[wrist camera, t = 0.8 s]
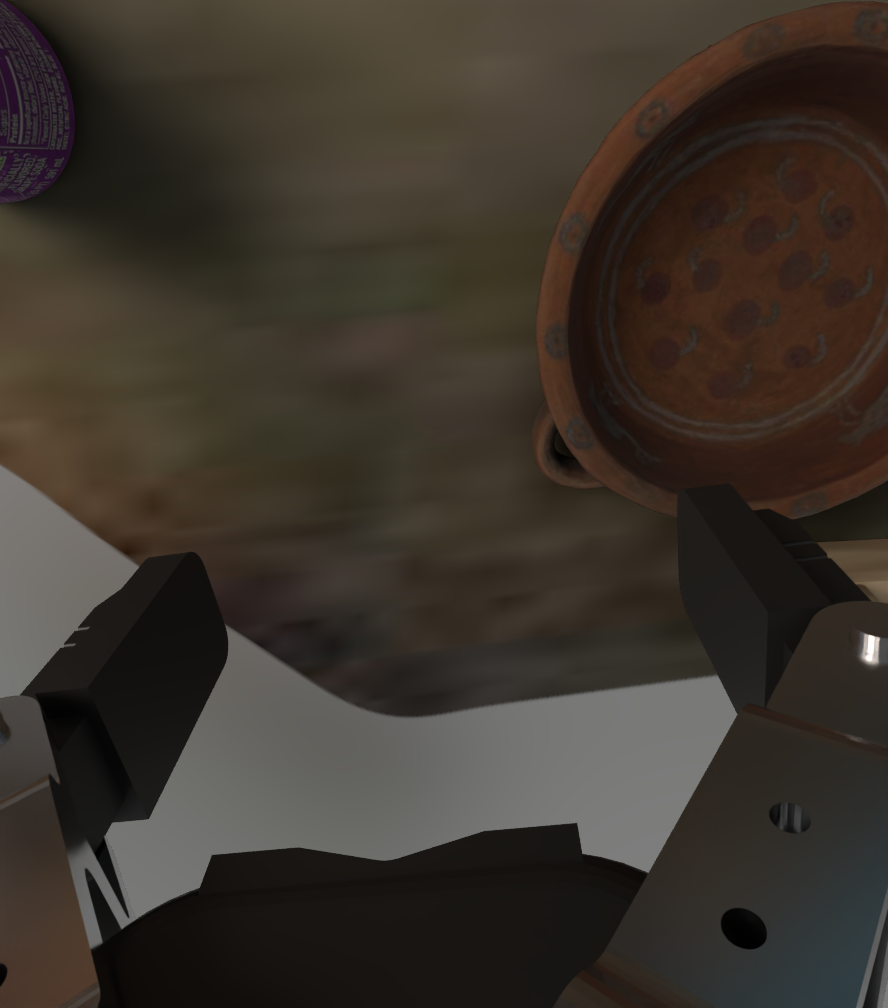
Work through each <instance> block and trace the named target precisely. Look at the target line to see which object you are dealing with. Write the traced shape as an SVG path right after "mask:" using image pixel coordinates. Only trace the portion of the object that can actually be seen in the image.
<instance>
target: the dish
mask: <svg viewBox="0 0 888 1008" xmlns="http://www.w3.org/2000/svg"><path fill="white" fill-rule="evenodd" d="M536 344H537V354H538V366H539V374H540V382H541V385H542V391H543V394H544V397H545V401H544V402H543V404H542V405H541V407H540V408H539V410H538V412H537V414H536V417H535V420H534V422H533V427H532V433H531V441H532V447H533V452H534V456H535V460H536V463H537V465H538V467H539V469H540V471H541V473H543V474H544V475H545V476H546V477H547V478H548V479H550V480H552V481H554V482H556V483H558V484H560V485H562V486H566V487H572V488H579V489H590V488H597V487H604V486H605V487H607V488H608V489H610V490H612V491H614V492H615V493H617V494H619V495H621V496H623V497H625V498H627V499H629V500H631V501H633V502H635V503H637V504H638V505H640V506H642V507H645V508H648V509H651V510H653V511H656V512H658V513H661V514H665V515H668V516H672V517H675V518H677V498H678V493H679V491H680V490H681V489H686V488H694V487H702V486H709V485H717V484H725V483H729V484H731V485H732V486H733V487H734V489H735V490H736V491H737V492H738V493H739V494H740V496H741V497H742V498H743V499H744V500H745V502H746V503H747V504H748V505H749V506H750V507H751V509H752V510H761V509H771V510H773V511H775V512H777V513H779V514H781V515H783V516H786V517H788V518H790V519H796V518H801V517H805V516H809V515H813V514H816V513H819V512H821V511H824V510H827V509H829V508H832V507H834V506H836V505H839V504H841V503H844V502H846V501H849V500H851V499H854V498H856V497H858V496H860V495H862V494H864V493H866V492H868V491H870V490H872V489H873V488H875V487H877V486H879V485H881V484H883V483H885V482H886V481H888V4H886V3H880V2H873V1H872V2H837V3H830V4H824V5H818V6H814V7H810V8H806V9H803V10H799V11H795V12H791V13H787V14H783V15H780V16H776V17H772V18H769V19H766V20H764V21H760V22H757V23H754V24H751V25H748V26H746V27H744V28H742V29H740V30H738V31H736V32H735V33H733V34H731V35H730V36H728V37H726V38H725V39H723V40H721V41H719V42H718V43H716V44H714V45H710V46H709V47H708V48H707V49H705V50H704V51H702V52H700V53H698V54H696V55H694V56H692V57H691V58H690V59H688V60H687V61H685V62H684V63H683V64H681V65H680V66H678V67H677V68H676V69H674V70H673V71H672V72H670V73H669V74H668V75H666V76H665V77H663V78H662V79H661V80H660V81H659V82H657V83H656V84H655V85H654V86H653V87H652V88H650V89H649V90H648V91H647V92H646V93H645V94H644V95H643V96H642V97H641V98H640V99H639V100H638V101H637V102H636V103H635V104H634V105H633V106H632V107H631V108H630V109H629V110H628V111H627V112H626V114H625V115H624V116H623V117H622V118H621V119H620V120H619V121H618V122H617V124H616V125H615V126H614V127H613V128H612V130H611V131H610V132H609V133H608V135H607V136H606V137H605V139H604V141H603V142H602V144H601V146H600V147H599V149H598V151H597V152H596V153H595V155H594V156H593V158H592V159H591V160H590V162H589V163H588V165H587V166H586V168H585V169H584V171H583V172H582V174H581V175H580V177H579V179H578V181H577V183H576V185H575V187H574V189H573V191H572V193H571V195H570V197H569V199H568V201H567V203H566V205H565V207H564V210H563V212H562V214H561V216H560V218H559V221H558V223H557V226H556V229H555V232H554V235H553V237H552V239H551V242H550V244H549V247H548V251H547V256H546V261H545V265H544V268H543V272H542V277H541V284H540V290H539V298H538V306H537V341H536ZM557 431H559V433H560V435H561V437H562V438H563V440H564V442H565V444H566V446H567V447H568V449H569V450H570V452H571V453H572V454H573V455H574V457H575V458H572V457H568V456H564V455H562V454H560V453H558V452H557V451H556V450H555V447H554V441H555V436H556V433H557Z"/></svg>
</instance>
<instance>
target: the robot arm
mask: <svg viewBox="0 0 888 1008" xmlns="http://www.w3.org/2000/svg"><path fill="white" fill-rule="evenodd" d="M677 522H678V564H679V583H680V590H681V595H682V599H683V603H684V607H685V609H686V612H687V614H688V616H689V618H690V620H691V622H692V624H693V626H694V628H695V630H696V632H697V634H698V636H699V638H700V640H701V642H702V644H703V646H704V648H705V650H706V652H707V654H708V656H709V658H710V660H711V662H712V664H713V666H714V668H715V670H716V672H717V674H718V676H719V678H720V680H721V682H722V684H723V686H724V688H725V690H726V692H727V694H728V696H729V698H730V700H731V702H732V704H733V706H734V708H735V710H736V712H737V714H738V715H737V717H736V718H735V720H734V722H733V724H732V725H731V727H730V729H729V731H728V733H727V734H726V736H725V738H724V740H723V742H722V743H721V745H720V747H719V749H718V751H717V752H716V754H715V756H714V758H713V760H712V761H711V763H710V765H709V767H708V768H707V770H706V772H705V774H704V776H703V777H702V779H701V781H700V782H699V784H698V786H697V788H696V790H695V791H694V793H693V795H692V797H691V799H690V800H689V802H688V804H687V806H686V807H685V809H684V811H683V813H682V814H681V816H680V818H679V820H678V822H677V823H676V825H675V827H674V829H673V831H672V832H671V834H670V836H669V838H668V839H667V841H666V843H665V845H664V846H663V848H662V850H661V852H660V854H659V855H658V857H657V859H656V861H655V863H654V864H653V866H652V868H651V870H650V872H649V873H647V872H645V871H642V870H640V869H637V868H635V867H632V866H629V865H626V864H624V863H621V862H617V861H613V860H610V859H606V858H602V857H597V856H591V855H586V854H582V850H581V844H580V838H579V832H578V826H577V823H572V824H561V825H550V826H538V827H527V828H516V829H504V830H493V831H483V832H480V833H477V834H474V835H471V836H468V837H464V838H461V839H458V840H455V841H452V842H449V843H445V844H442V845H439V846H436V847H433V848H430V849H427V850H423V851H420V852H417V853H414V854H411V855H408V856H404V857H401V858H398V859H394V860H388V861H380V860H372V859H366V858H360V857H354V856H347V855H342V854H336V853H329V852H323V851H316V850H310V849H304V848H287V849H276V850H265V851H253V852H242V853H230V854H219V855H212V857H211V859H210V862H209V865H208V867H207V870H206V873H205V875H204V878H203V881H202V883H201V886H200V888H198V889H196V890H193V891H190V892H187V893H185V894H183V895H180V896H178V897H176V898H174V899H171V900H169V901H167V902H165V903H163V904H161V905H160V906H158V907H156V908H154V909H152V910H150V911H148V912H147V913H145V914H144V915H142V916H141V917H139V918H138V919H135V916H134V912H133V909H132V906H131V904H130V900H129V897H128V894H127V891H126V888H125V885H124V882H123V879H122V876H121V873H120V870H119V867H118V863H117V860H116V857H115V854H114V851H113V849H112V847H111V845H110V843H109V841H108V839H107V837H106V833H107V831H108V829H109V827H110V826H111V824H112V823H113V822H124V821H134V820H144V819H149V818H150V815H151V814H152V811H153V809H154V807H155V805H156V803H157V801H158V799H159V797H160V795H161V793H162V791H163V789H164V787H165V785H166V783H167V781H168V779H169V777H170V775H171V773H172V771H173V769H174V767H175V765H176V763H177V761H178V759H179V757H180V755H181V753H182V750H183V749H184V747H185V745H186V743H187V741H188V738H189V736H190V734H191V732H192V730H193V728H194V726H195V724H196V722H197V720H198V718H199V716H200V714H201V712H202V710H203V708H204V706H205V704H206V702H207V700H208V698H209V696H210V694H211V692H212V689H213V688H214V686H215V684H216V682H217V680H218V678H219V676H220V674H221V672H222V670H223V668H224V665H225V663H226V660H227V655H228V636H227V631H226V627H225V624H224V621H223V618H222V615H221V612H220V609H219V607H218V604H217V601H216V598H215V595H214V592H213V589H212V586H211V584H210V581H209V578H208V575H207V572H206V569H205V566H204V564H203V562H202V560H201V558H200V557H199V556H198V555H197V554H196V553H194V552H187V553H179V554H171V555H164V556H156V557H149V558H148V559H146V560H145V561H144V562H143V564H142V565H141V566H140V567H139V568H138V570H137V571H136V572H135V573H134V574H133V576H132V577H131V578H130V579H129V580H128V582H127V583H126V584H125V585H124V587H123V588H122V589H121V590H119V591H118V592H116V593H115V594H114V595H112V596H111V597H109V598H108V599H107V600H105V601H104V602H102V603H101V604H99V605H98V606H97V607H95V608H94V609H93V611H92V612H91V613H90V614H89V615H88V616H87V618H86V619H85V620H84V621H83V622H82V623H81V624H80V626H79V627H78V631H74V633H73V634H72V635H71V636H70V637H69V638H68V640H67V641H66V642H65V643H64V648H60V649H59V650H58V651H57V652H56V654H55V655H54V656H53V657H52V658H51V660H50V661H49V662H48V663H47V664H46V665H45V666H44V668H43V669H42V670H41V671H40V672H39V674H38V675H37V676H36V677H35V678H34V679H33V681H32V682H31V683H30V684H29V685H28V686H27V687H26V689H25V690H24V691H23V692H22V693H21V694H20V696H10V697H4V698H0V1008H882V1007H883V1002H884V997H885V992H886V987H887V982H888V603H882V602H873V601H871V600H870V599H869V598H868V597H867V596H866V594H865V593H864V592H863V591H862V590H861V589H860V588H859V587H858V586H857V585H856V584H855V583H854V582H853V581H852V580H851V579H850V578H849V576H848V575H847V574H846V573H845V572H844V571H843V570H842V569H841V568H840V567H839V566H838V565H837V564H836V563H835V562H834V561H833V560H832V558H828V556H827V553H826V552H825V551H824V550H823V549H822V548H821V547H820V546H819V545H818V544H817V543H814V541H813V538H812V537H811V536H810V535H809V534H808V533H807V532H806V531H805V530H804V529H803V528H802V527H801V526H800V525H799V524H798V523H797V522H796V521H794V520H792V519H790V518H788V517H786V516H783V515H781V514H779V513H777V512H775V511H773V510H771V509H761V510H752V509H751V507H750V506H749V505H748V504H747V503H746V502H745V500H744V499H743V498H742V497H741V496H740V494H739V493H738V492H737V491H736V490H735V489H734V487H733V486H732V485H731V484H729V483H725V484H717V485H709V486H702V487H694V488H686V489H681V490H680V491H679V493H678V498H677Z"/></svg>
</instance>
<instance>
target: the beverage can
mask: <svg viewBox="0 0 888 1008" xmlns="http://www.w3.org/2000/svg"><path fill="white" fill-rule="evenodd" d="M74 132H75V115H74V106H73V100H72V95H71V91H70V88H69V84H68V81H67V78H66V76H65V73H64V71H63V69H62V66H61V64H60V62H59V60H58V58H57V56H56V55H55V53H54V51H53V50H52V48H51V46H50V45H49V43H48V42H47V40H46V39H45V38H44V36H43V35H42V34H41V33H40V31H39V30H38V29H37V28H36V27H35V26H34V24H33V23H32V22H31V21H30V20H29V19H28V18H27V17H26V16H24V15H23V14H22V13H21V12H20V11H19V10H18V9H16V8H15V7H14V6H12V5H11V4H10V3H8V2H7V1H5V0H0V204H1V203H12V202H19V201H23V200H26V199H29V198H32V197H34V196H36V195H38V194H40V193H42V192H43V191H45V190H46V189H47V188H48V187H50V186H51V185H52V184H53V183H54V182H55V181H56V179H57V178H58V177H59V176H60V174H61V173H62V171H63V169H64V168H65V166H66V164H67V162H68V159H69V156H70V153H71V150H72V146H73V141H74Z"/></svg>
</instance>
